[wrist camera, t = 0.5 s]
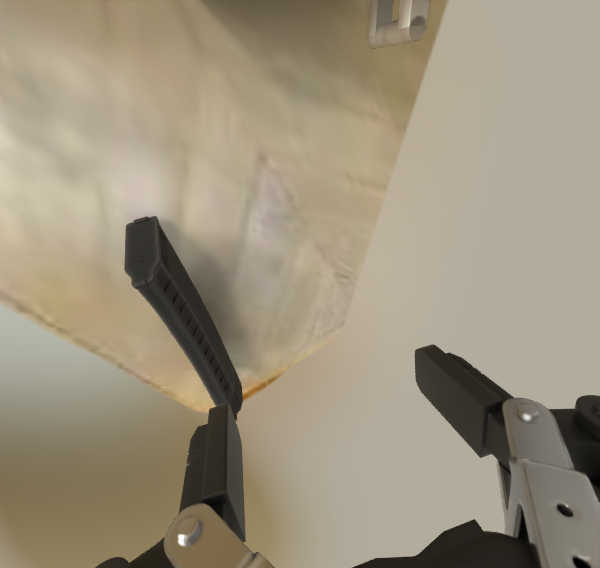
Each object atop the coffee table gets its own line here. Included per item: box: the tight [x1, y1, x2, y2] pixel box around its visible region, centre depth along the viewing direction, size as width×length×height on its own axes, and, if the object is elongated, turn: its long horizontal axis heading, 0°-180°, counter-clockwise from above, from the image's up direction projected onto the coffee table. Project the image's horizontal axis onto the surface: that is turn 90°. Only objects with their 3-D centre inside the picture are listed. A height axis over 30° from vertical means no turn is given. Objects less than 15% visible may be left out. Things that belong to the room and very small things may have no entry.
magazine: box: [125, 216, 243, 421], centre depth 38 cm, size 17×3×30 cm
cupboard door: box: [367, 0, 430, 49], centre depth 22 cm, size 6×16×14 cm, turn 94°
